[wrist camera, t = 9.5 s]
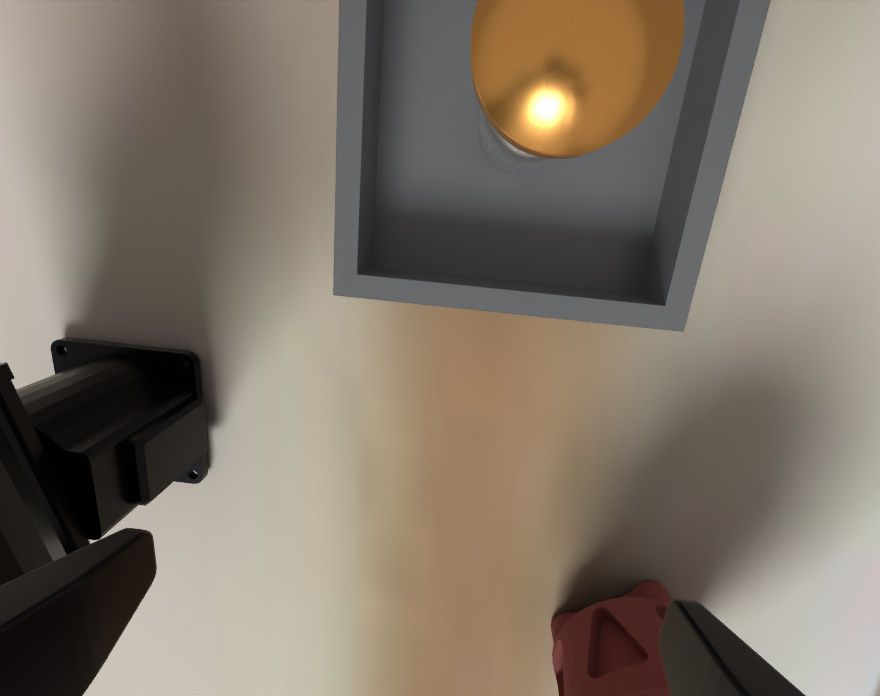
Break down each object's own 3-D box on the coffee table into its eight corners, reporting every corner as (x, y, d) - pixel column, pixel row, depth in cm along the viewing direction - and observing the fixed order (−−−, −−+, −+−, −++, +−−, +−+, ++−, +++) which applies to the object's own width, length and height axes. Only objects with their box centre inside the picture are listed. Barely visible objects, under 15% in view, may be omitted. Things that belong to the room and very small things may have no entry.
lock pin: (465, 179, 16) (460, 145, 8) (475, 74, 15) (482, -97, 7) (558, 187, 16) (657, 162, 8) (575, 82, 15) (710, -83, 7)
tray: (354, 281, 18) (333, 295, 16) (367, -77, 15) (342, -146, 12) (649, 312, 18) (683, 331, 15) (735, -52, 14) (800, -117, 12)
